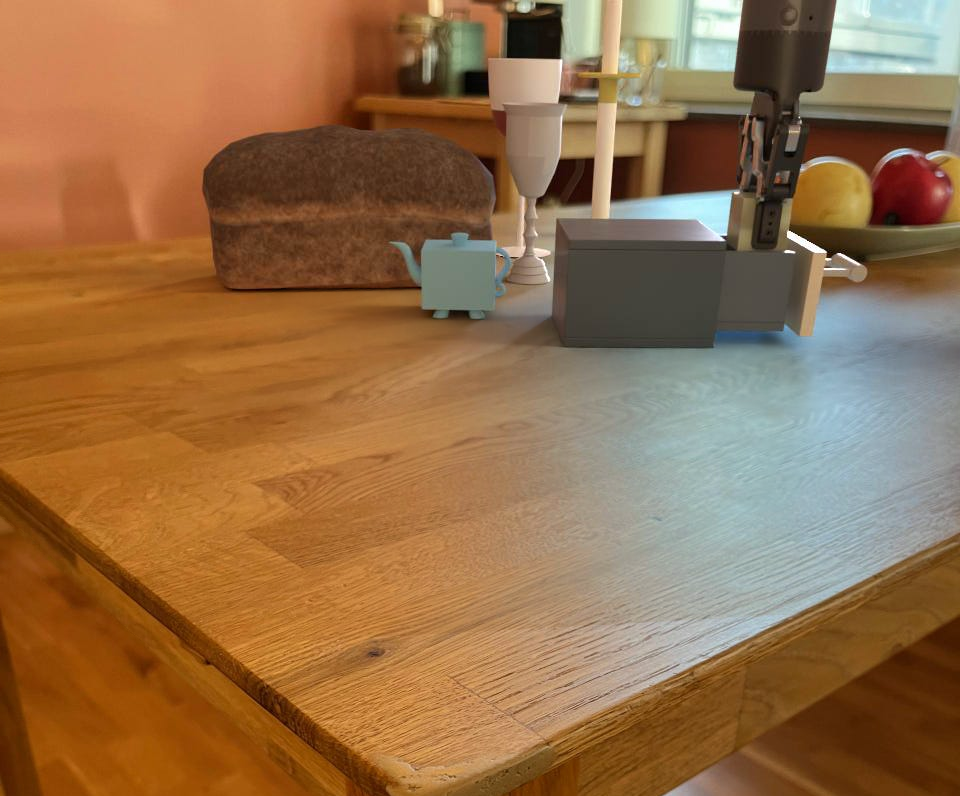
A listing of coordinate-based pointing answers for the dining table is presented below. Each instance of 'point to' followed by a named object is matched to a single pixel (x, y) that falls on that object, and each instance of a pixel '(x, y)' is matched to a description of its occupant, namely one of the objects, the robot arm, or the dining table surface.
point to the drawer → (778, 286)
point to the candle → (607, 109)
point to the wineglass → (521, 85)
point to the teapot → (457, 274)
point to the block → (752, 222)
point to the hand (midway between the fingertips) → (756, 243)
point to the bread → (339, 205)
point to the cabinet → (637, 282)
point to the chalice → (532, 171)
